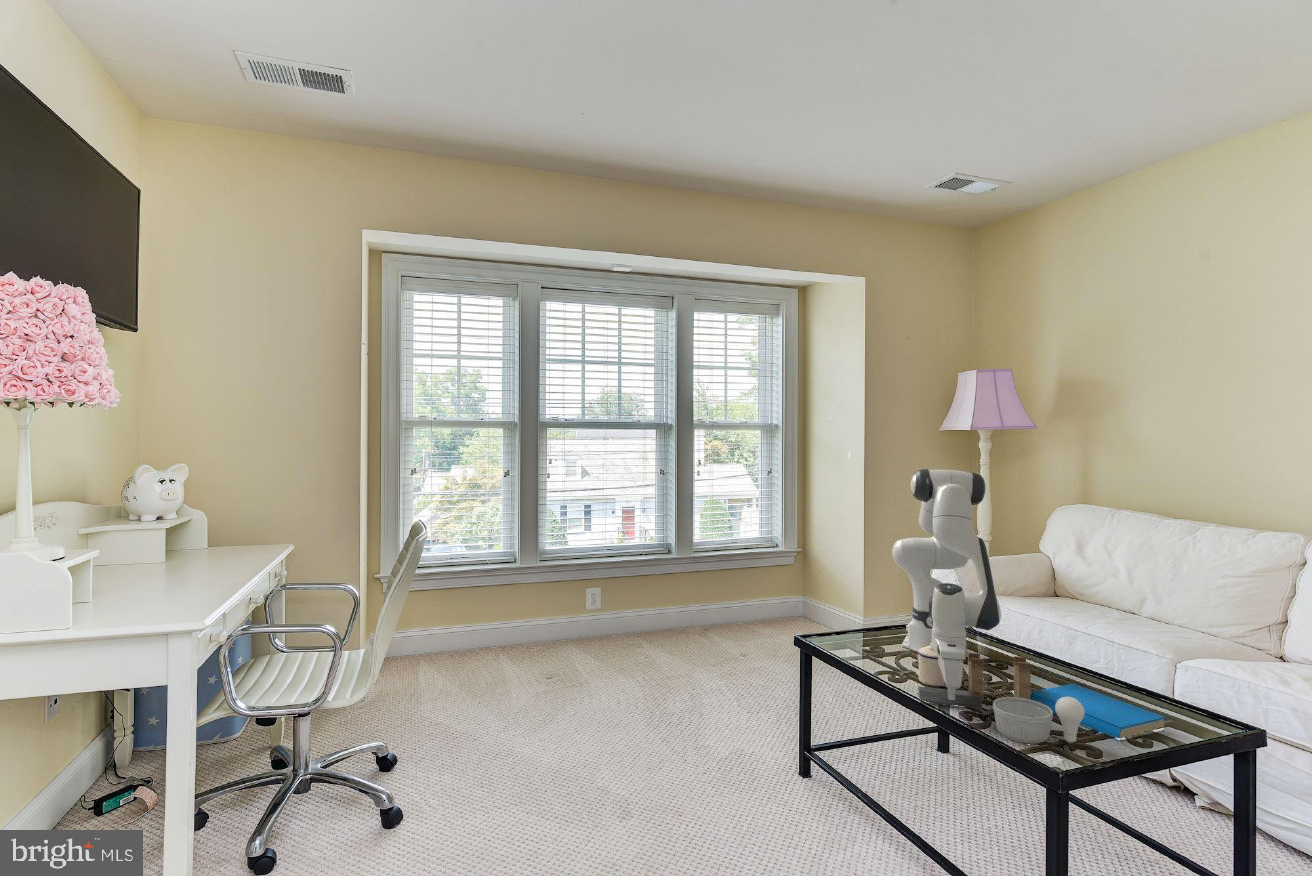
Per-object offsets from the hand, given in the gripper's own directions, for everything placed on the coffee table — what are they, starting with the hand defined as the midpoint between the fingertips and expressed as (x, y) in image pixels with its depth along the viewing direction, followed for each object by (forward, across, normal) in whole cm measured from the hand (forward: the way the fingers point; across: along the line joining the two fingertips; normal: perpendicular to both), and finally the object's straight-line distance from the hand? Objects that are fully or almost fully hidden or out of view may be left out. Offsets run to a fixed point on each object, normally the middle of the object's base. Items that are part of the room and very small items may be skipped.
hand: (949, 692), depth 188 cm
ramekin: (+3, +16, +15) cm, 22 cm away
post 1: (+3, -8, +8) cm, 12 cm away
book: (+4, -1, +36) cm, 36 cm away
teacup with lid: (+3, -18, -3) cm, 19 cm away
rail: (+3, 0, 0) cm, 3 cm away
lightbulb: (+3, +18, +25) cm, 31 cm away
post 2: (+3, -8, +20) cm, 22 cm away
